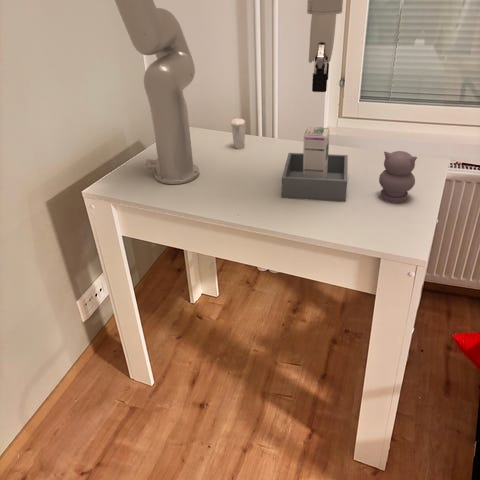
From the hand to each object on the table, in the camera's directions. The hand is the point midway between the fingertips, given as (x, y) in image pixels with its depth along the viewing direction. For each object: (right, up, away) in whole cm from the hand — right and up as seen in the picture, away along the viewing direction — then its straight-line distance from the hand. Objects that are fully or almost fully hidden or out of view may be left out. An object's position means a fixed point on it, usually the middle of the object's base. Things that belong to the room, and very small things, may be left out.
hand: (320, 85), depth 111 cm
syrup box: (+1, -22, +14) cm, 26 cm away
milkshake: (-19, -7, +39) cm, 44 cm away
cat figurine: (+20, -26, +8) cm, 33 cm away
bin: (+1, -22, +14) cm, 26 cm away
